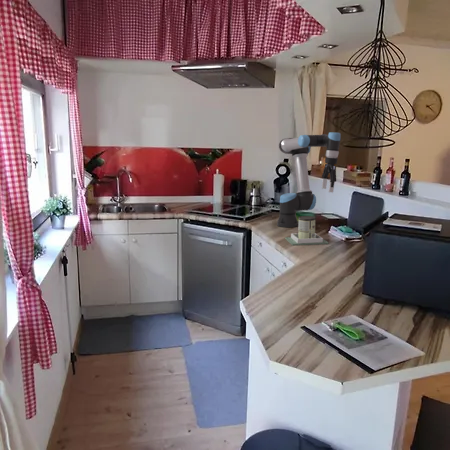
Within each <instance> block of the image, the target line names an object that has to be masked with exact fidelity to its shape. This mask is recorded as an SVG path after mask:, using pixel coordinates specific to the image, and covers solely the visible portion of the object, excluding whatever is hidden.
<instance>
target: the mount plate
mask: <svg viewBox="0 0 450 450" xmlns="http://www.w3.org/2000/svg"><path fill="white" fill-rule="evenodd" d="M284 238H285V240H286V241H287V242H288V243H289V244H291V246H311V245H312V246H313V245H314V246H315V245H318V246H319V245H329V242H328V241H327V240H326V239H324V238H323V237H321V236H320V235H319V234H317V233H316V232H315V238H311V239H298V232H297V233H296V232H295V233H290V236H287V237H284Z"/></svg>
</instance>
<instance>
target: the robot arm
mask: <svg viewBox="0 0 450 450" xmlns="http://www.w3.org/2000/svg"><path fill="white" fill-rule="evenodd" d="M341 135H342V134H341V132H335V131H334V132H333V131H332V132H330V131H329V132H328V134H325V133H324V134H323V133H322V134H300V135H299V136H298V137H286V138H282V139H281V140H279V143H278V149H279V150H280V152H281V153H284V154H286V155H291V157H292V159H294V165H295V166H294V167H295V175H296V185H297V191H296V192H288V193H283V194H281V195H279V196H280V197H279V216H278V219H277V222H276V225H277V226H278V227H280V228H296V227H298V226H299V220H298V218H297V214H296V211H297V212H298V211H299V212H300V211H312V210H313V209H315V207H316V203H317V197H316V196H317V195H316V194H314V193H313V191H312V190H311V189H310V182H309V181H310V180H309V172H308V171H309V170H308V160H307V157H308V156H309V153H310V152H311V147H312V148H314V147H315V148H317V147H318V148H319V147H322V148H323V147H325V148H326V151H325V160H324V163H325V165H324V168H323V172H322V175H321V178H322V185H321V189H322V190H323V189H325V190H326V189H327V184H328V178H329V179H330V180H329V184H328V185H329V186H328V193H334V189H335V183H336V182H337V166H336V165H337V164H338V159H339V158H338V156H339V154H340V152H339V151H340V150H339V149H340V144H341V139H342V138H341V137H342V136H341Z"/></svg>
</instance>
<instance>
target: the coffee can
mask: <svg viewBox="0 0 450 450" xmlns="http://www.w3.org/2000/svg"><path fill="white" fill-rule="evenodd" d="M297 220H298V226H297V228H298V230H297V231H298V232H297V233H298V239H311V238H315V233H316V217H315V216H313V215H312V216H311V215H302V216H298V218H297Z"/></svg>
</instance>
